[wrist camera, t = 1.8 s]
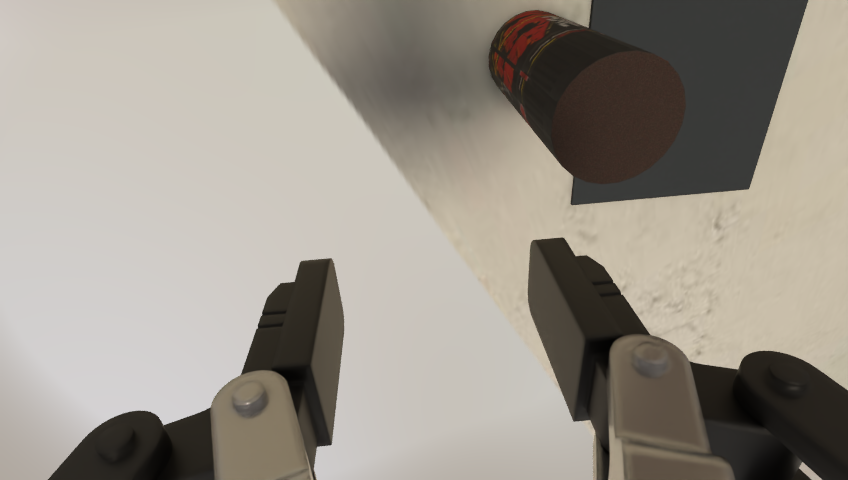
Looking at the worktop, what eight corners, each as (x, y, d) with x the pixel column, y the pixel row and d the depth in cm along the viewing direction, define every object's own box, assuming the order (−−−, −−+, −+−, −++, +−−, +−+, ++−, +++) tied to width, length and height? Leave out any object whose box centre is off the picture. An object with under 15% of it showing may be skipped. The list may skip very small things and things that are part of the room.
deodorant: (569, 0, 32) (690, 34, 19) (574, 88, 35) (681, 168, 22) (482, 22, 33) (545, 69, 20) (495, 107, 36) (556, 196, 23)
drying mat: (600, -84, 30) (602, -85, 30) (836, -103, 30) (840, -103, 30) (570, 203, 40) (572, 205, 40) (746, 187, 41) (749, 189, 40)
